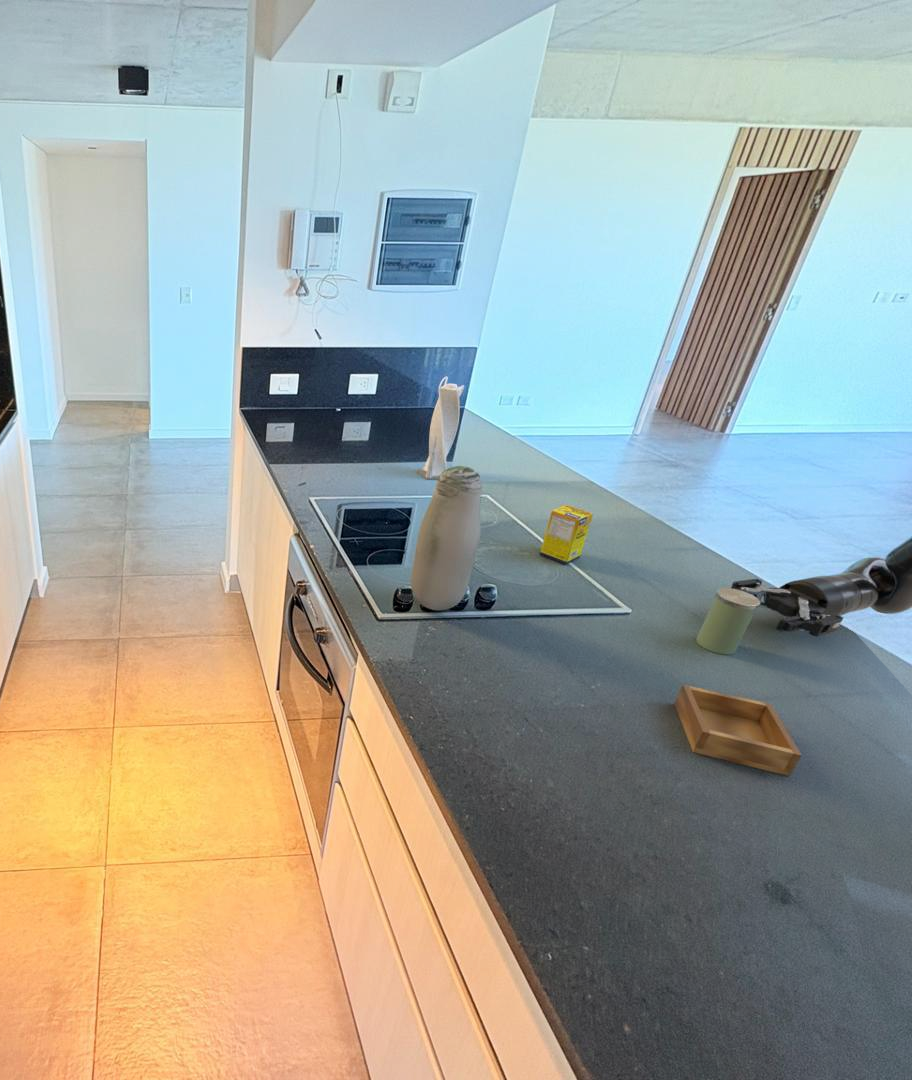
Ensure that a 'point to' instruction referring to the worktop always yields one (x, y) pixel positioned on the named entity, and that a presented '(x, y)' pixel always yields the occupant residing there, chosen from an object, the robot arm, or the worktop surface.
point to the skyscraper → (442, 429)
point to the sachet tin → (727, 620)
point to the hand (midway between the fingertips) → (752, 612)
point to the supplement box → (566, 534)
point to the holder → (736, 730)
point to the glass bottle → (448, 540)
